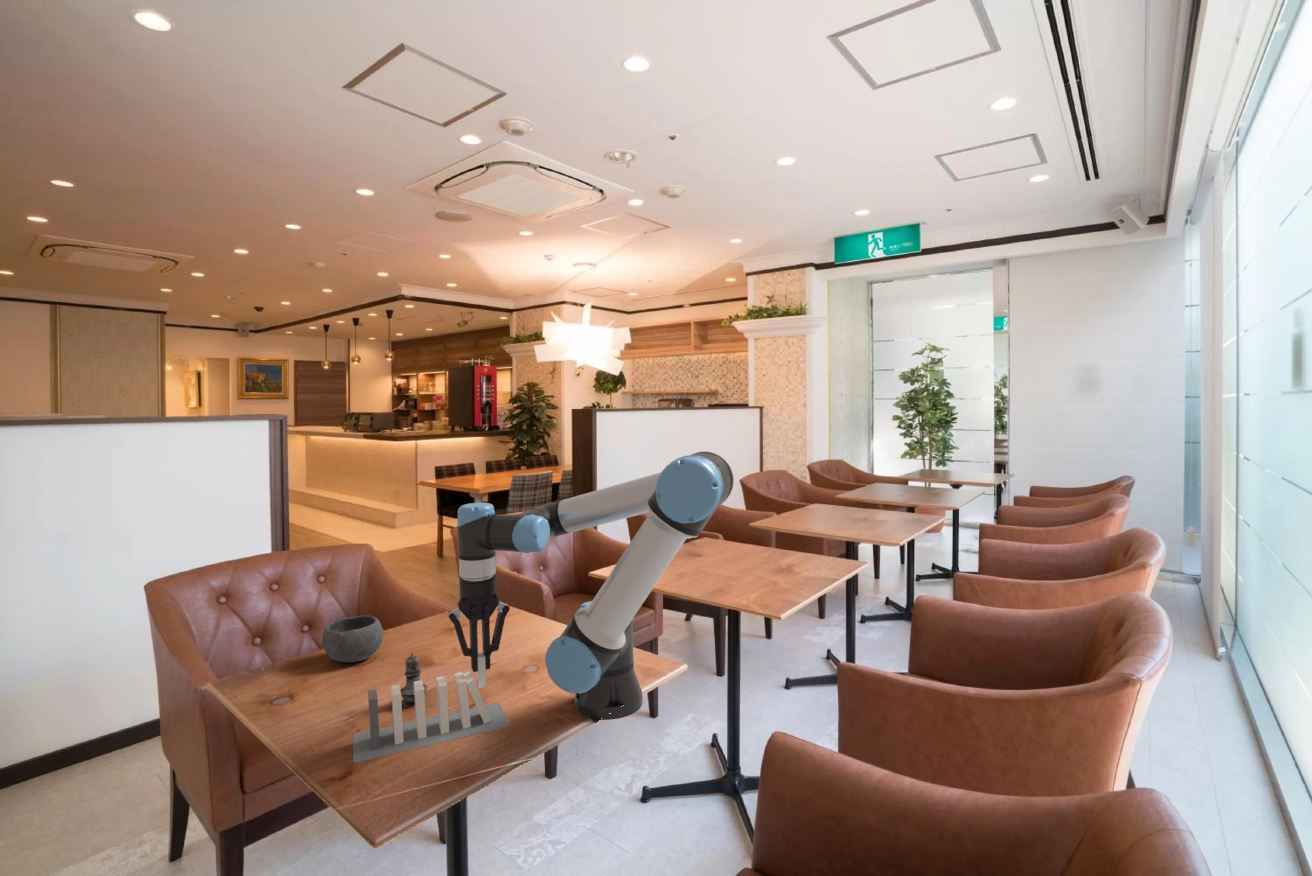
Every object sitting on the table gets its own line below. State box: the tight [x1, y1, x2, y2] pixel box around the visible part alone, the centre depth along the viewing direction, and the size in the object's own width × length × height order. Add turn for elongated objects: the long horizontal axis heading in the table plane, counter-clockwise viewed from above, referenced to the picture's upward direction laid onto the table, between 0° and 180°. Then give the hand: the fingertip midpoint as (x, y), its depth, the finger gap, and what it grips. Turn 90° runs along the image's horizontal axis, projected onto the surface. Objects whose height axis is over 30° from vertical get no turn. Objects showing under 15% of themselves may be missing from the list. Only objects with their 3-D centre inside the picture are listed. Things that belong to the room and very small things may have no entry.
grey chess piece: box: [400, 652, 428, 708], centre depth 148 cm, size 6×6×12 cm
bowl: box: [321, 615, 384, 664], centre depth 176 cm, size 15×15×10 cm
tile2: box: [454, 671, 471, 729], centre depth 138 cm, size 2×5×10 cm, turn 25°
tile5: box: [390, 684, 404, 744], centre depth 133 cm, size 2×5×10 cm, turn 25°
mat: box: [352, 702, 512, 764], centre depth 136 cm, size 30×12×1 cm, turn 115°
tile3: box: [435, 675, 449, 734], centre depth 136 cm, size 2×5×10 cm, turn 25°
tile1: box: [463, 670, 491, 724], centre depth 139 cm, size 2×5×10 cm, turn 24°
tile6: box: [367, 688, 380, 750], centre depth 131 cm, size 2×5×10 cm, turn 25°
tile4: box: [414, 679, 427, 739], centre depth 134 cm, size 2×5×10 cm, turn 25°
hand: (481, 684), depth 140 cm, fingers closed
